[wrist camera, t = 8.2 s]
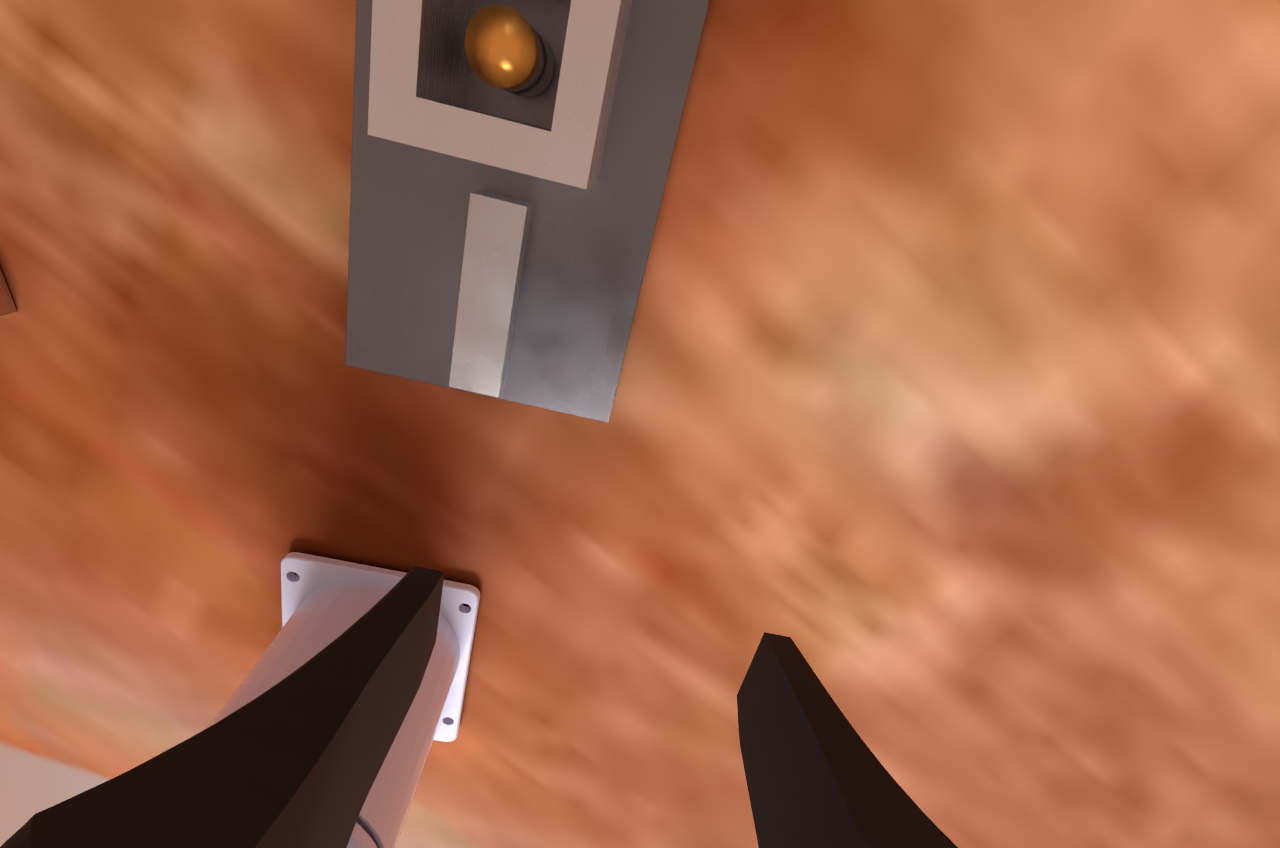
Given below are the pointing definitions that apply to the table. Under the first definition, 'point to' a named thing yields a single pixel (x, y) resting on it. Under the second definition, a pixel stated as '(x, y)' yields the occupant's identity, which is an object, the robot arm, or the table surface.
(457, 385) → the keeper
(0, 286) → the chain
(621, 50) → the end link
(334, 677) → the robot arm
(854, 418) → the table surface
